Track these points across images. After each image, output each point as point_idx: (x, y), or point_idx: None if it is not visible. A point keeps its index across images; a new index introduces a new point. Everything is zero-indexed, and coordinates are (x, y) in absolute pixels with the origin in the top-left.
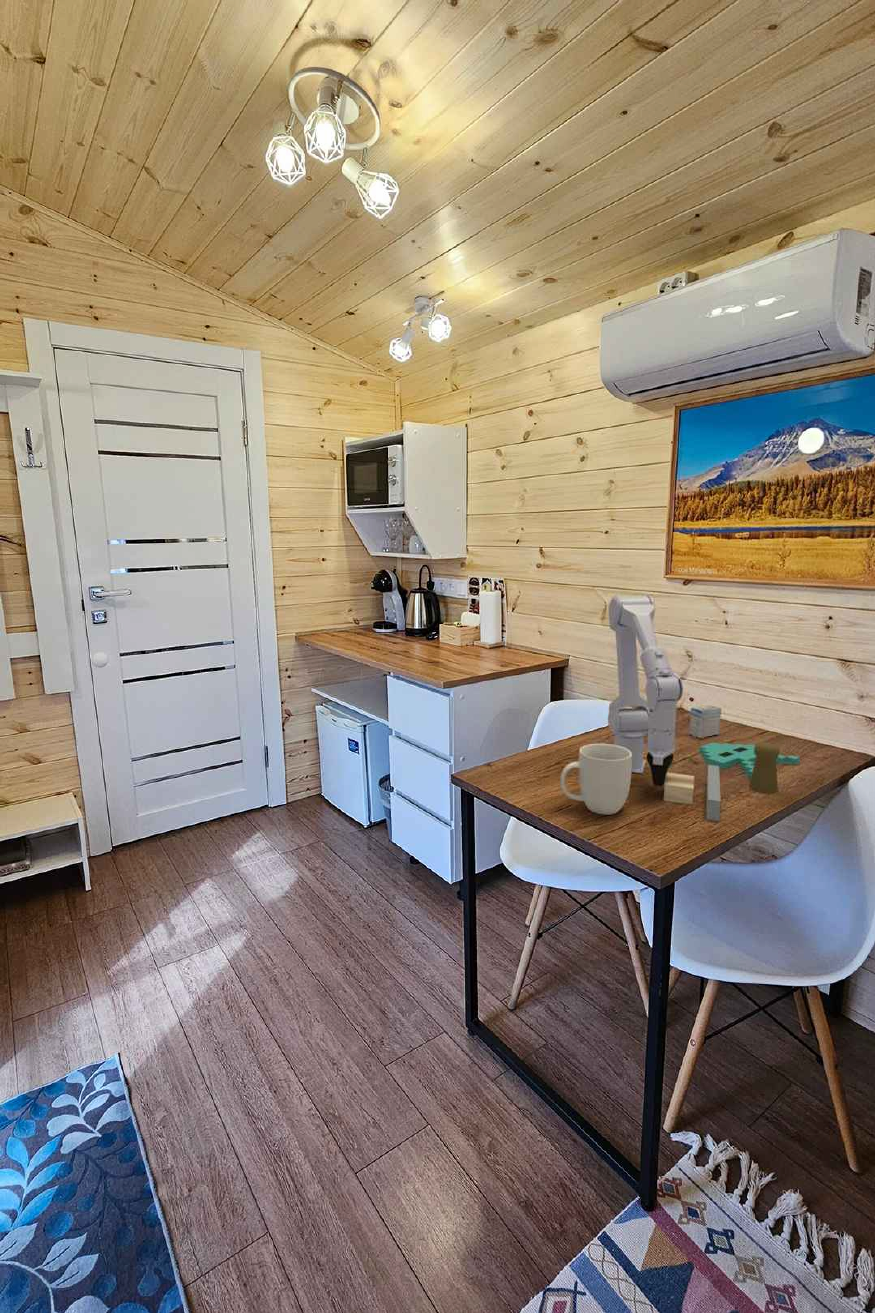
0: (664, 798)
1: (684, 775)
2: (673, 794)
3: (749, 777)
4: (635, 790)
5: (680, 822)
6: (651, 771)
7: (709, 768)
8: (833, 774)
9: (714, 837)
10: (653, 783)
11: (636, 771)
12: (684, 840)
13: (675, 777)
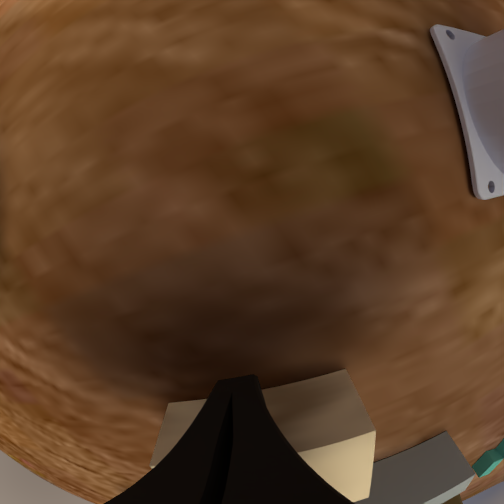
0: (167, 412)
1: (361, 483)
2: None
3: (484, 455)
4: (203, 248)
5: (59, 444)
6: (171, 450)
7: (440, 496)
8: (494, 484)
9: (66, 485)
10: (214, 387)
11: (474, 166)
12: (7, 439)
13: None
